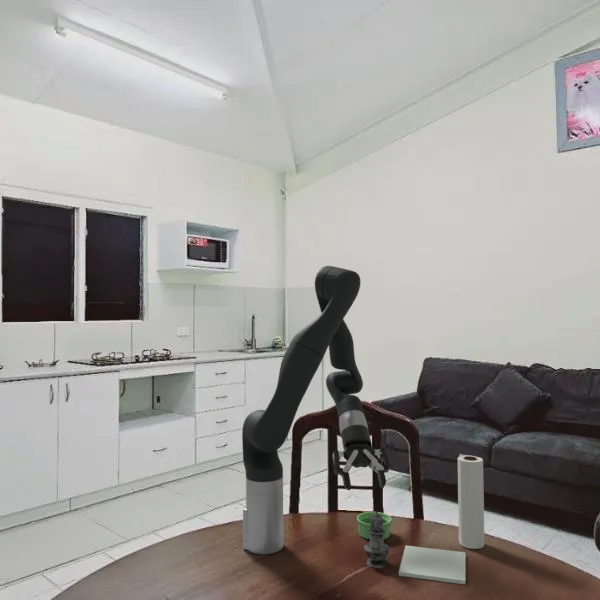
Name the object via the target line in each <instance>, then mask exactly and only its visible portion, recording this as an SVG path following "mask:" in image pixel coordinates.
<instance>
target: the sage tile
mask: <svg viewBox="0 0 600 600" xmlns="http://www.w3.org/2000/svg"><path fill="white" fill-rule="evenodd" d="M398 576H401V577H407V578H414V579H422V580H430V581H437V582H445V583H452V584H459V585H466V552H464V551H456V550H448V549H447V550H446V549H439V548H438V549H437V548H429V547H421V546H414V545H413V546H412V545H405V547H404V550H403V554H402V558H401V561H400V566H399V569H398Z"/></svg>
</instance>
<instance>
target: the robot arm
mask: <svg viewBox="0 0 600 600" xmlns="http://www.w3.org/2000/svg"><path fill="white" fill-rule="evenodd" d="M360 289H361V278H360V275H359V273H358V272H356V271H354V270H351V269H346V268H342V267H337V266H332V265H325V266H322V267H321V268H320V269H319V270H318V272H317V273H316V275H315V279H314V290H315V294H316V299H317V303H318V305H319V309H320V310H319V311H320V312H321V314H320V315H318V317H316V318H315V319H314V320H312V321H311V322H310V323H308V324H307V325H305V326H304V327H303V328H301V329H300V330H299V331H298V332H297V333H296V334H295V335H294V336H293V338H292V339H291V341H290V343H289V345H288V347H287V349H286V351H285V353H284V355H283V357H282V360H281V363H280V366H279V373H278V378H277V379H278V380H277V383H276V385H277V386H276V388H275V390H274V391H275V392H274V394H273V396H272V397H271V400H270V402H269V403H268V406H267V407H266V408H265V410H264V409H256V410H254V411H252V412H250V413H249V414H247V416H246V417H245V420H244V421H243V425H242V433H241V434H242V435H241V436H242V437H241V439H242V460H243V466H244V470H245V507H244V509H243V510H242V549H243V550H247V551H248V552H250V553H253V554H257V555H269V554H275V553H277V552H279V551H281V550H282V549H283V548H284V466H283V464H282V462H281V460H280V457H279V454H278V450H279V449H280V448H281V447H282V446H283V445H284V443H285V442H286V440H287V437H289V434H290V431H291V428H292V424H293V423H294V419H295V417H296V414H297V413H298V409H299V406H300V404H301V403H302V401H303V398H304V396H305V395H306V393H307V390H308V389H309V386H310V384H311V382H312V380H313V378H314V377H315V374H316V372H317V371H318V369H319V367H320V365H321V364H322V361H323V359H324V357H325V354H326V352H327V350H328V351H329V352H328V353H329V361H330V365H331V366H332V368H334V369H336V370H338V371H332V372H330V373H328V374H327V377H326V379H325V385H326V388H327V389H326V390H327V391H328V393H329V395H330V397H331V398H332V400H333V402H334V404H335V406H336V410H337V415H338V416H337V417H338V420H339V421H338V424H339V426H338V427H339V433H340V437H341V438H340V439H341V442H342V448H343V450H342V451H341V450H340V451H339V450H338V449H337V448H336V449H335V448H334V450H333V452H332V464H333V472H334V473H333V474H334V475H335V476H338V475H339V476H341V478H342V482H343V483H342V484H343V487H344V488H345V489H346V490H347V491H351V489H352V484H351V477H350V470H351V469H352V468H356V469H358V468H367V467H368V468H370V469H371V470H372V471H374V472H375V473H376V474H377V479H378V483H379V484H378V485H379V488H380V489H384V487H386V485H387V477H386V474H385V473H389V470H390V467H391V463H390V461H389V457H388V454H387V451H386V448H385V447H383V446H382V447H380V448H379V449H375V448H374V447H373V444H372V441H371V440H372V439H371V436H370V431H369V426H368V422H367V419H366V416H365V413H364V409H363V405H362V401H361V399H360V398H359V397H358V396H357V395H355V394H358V393H360V392H361V391H362V389H363V387H364V382H363V378H362V375H361V373H360V371H359V368H358V366H357V363H356V358H355V347H354V346H355V344H354V339H353V335H352V333H351V331H350V329H349V327H348V324H347V323H346V322H345V320H344V319H345V317H346V316H347V314H348V312H349V311H350V309H351V307H352V305H353V304H354V302H355V301H356V299H357V297H358V294H359V292H360ZM339 370H340V371H339ZM375 456H377V458H378V459H380V462H381V463H379V460H378V459H377V458H376V457H375ZM342 457H343V458H344V459H345V460H346V461H347V462H346V463H345V465H344V467H341V463H340V460H341V459H342Z"/></svg>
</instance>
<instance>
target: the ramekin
mask: <svg viewBox="0 0 600 600" xmlns="http://www.w3.org/2000/svg"><path fill="white" fill-rule="evenodd" d="M375 512H376V511H367V512H362V513H360V514H358V515H357V516H356V520H357V527H358V534H359V536H360V537H361V536H362V537H363V538H362V537H361V538H362V539H364V538H366V539H365V540H367V539H370V532H369V529H370V517H371V516H372V515H374V514H375ZM377 512H378V511H377ZM377 514H378V515H380V516H382V518H383V530H384V531H385V532H384V533H383V539H385V540H387V539H388V538H389V537H390V535H391V526H392V517H391V515H388V514H387V513H383V512H378V513H377ZM386 538H387V539H386Z"/></svg>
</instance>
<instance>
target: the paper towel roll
mask: <svg viewBox="0 0 600 600" xmlns="http://www.w3.org/2000/svg"><path fill="white" fill-rule="evenodd" d="M458 455H459V456H458V457H457V485H458V486H457V495H458V496H457V497H458V498H457V501H458V502H457V504H458V505H457V507H458V509H457V510H458V543H459V545H460V546H462V547H464V548H466V549H469V550H470V549H471V550H478V549H479V550H480V549H482V548H484V547H485V501H484V500H485V498H484V490H485V489H484V487H485V486H484V460H483V458H482V457H479V456H475V455H469V454H468V455H467V454H462V453H459V454H458Z"/></svg>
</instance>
